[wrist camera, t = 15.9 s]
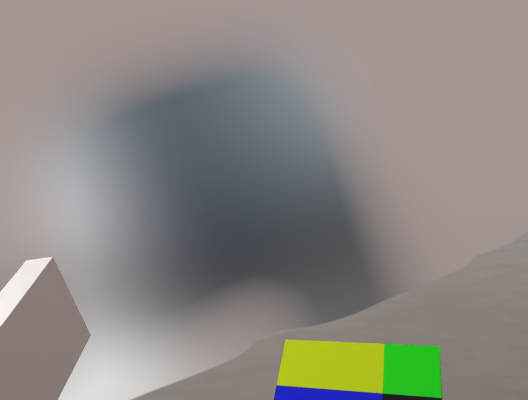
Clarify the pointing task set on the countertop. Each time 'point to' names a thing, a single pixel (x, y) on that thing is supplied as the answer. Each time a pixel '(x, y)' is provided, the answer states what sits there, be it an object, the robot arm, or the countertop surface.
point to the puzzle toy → (358, 371)
